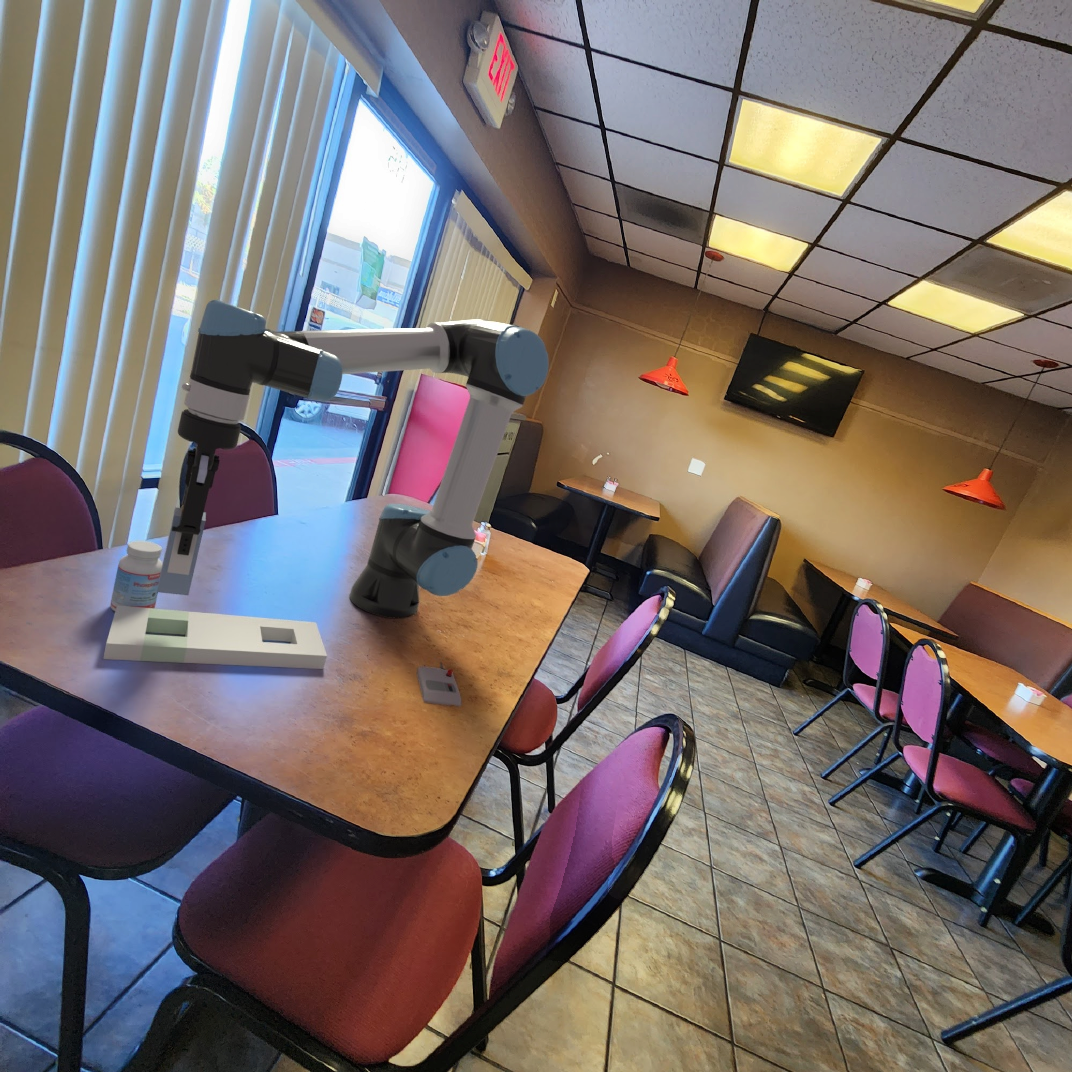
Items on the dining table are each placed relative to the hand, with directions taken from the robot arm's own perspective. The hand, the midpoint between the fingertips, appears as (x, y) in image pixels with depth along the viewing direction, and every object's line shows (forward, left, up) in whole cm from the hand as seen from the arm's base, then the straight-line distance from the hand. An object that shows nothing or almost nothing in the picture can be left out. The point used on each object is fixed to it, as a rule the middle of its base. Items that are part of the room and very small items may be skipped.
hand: (178, 566), depth 87 cm
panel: (-8, 0, -13) cm, 15 cm away
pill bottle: (+5, -10, -13) cm, 17 cm away
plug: (0, 0, -4) cm, 4 cm away
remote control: (-43, +10, -14) cm, 46 cm away
